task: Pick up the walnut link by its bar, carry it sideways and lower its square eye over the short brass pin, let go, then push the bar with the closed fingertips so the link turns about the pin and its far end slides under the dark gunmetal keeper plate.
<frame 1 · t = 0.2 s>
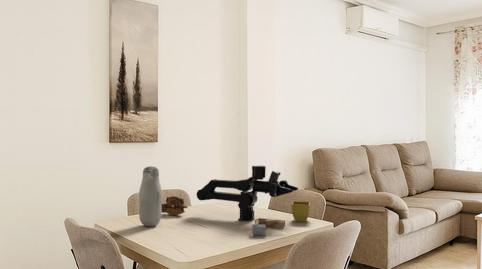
hand: (295, 189, 196), 17 cm above the table, tool horizontal, fingers open, 9 cm apart
link: (281, 227, 189), on the table
grey tall rounded cylinder: (150, 226, 192), on the table
wooden carving: (173, 215, 217), on the table
flower pot: (300, 221, 204), on the table
keeper: (258, 234, 175), on the table
pin: (256, 229, 186), on the table
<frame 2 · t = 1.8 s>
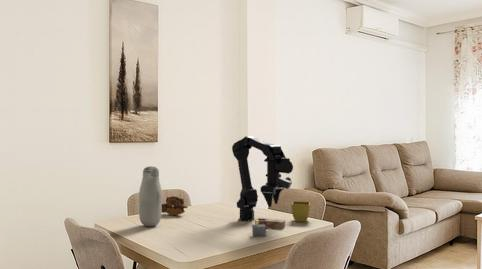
hand: (273, 205, 190), 10 cm above the table, tool pointing down, fingers open, 9 cm apart
nothing on the table moved.
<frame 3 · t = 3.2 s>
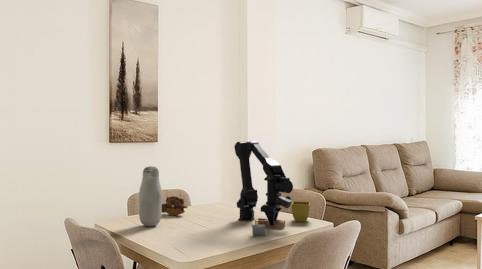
hand: (273, 224, 190), 1 cm above the table, tool pointing down, fingers closed on link, 4 cm apart
link: (281, 227, 189), on the table, touching gripper
everything else where it was.
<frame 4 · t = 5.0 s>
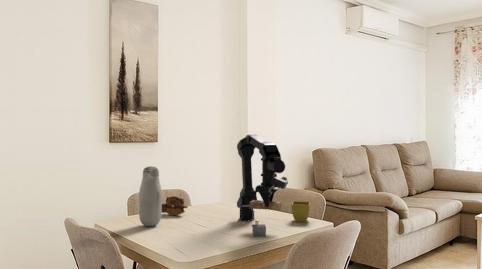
hand: (268, 206, 184), 11 cm above the table, tool pointing down, fingers closed on link, 4 cm apart
link: (277, 209, 182), point 10 cm above the table, touching gripper
everything else where it was.
when the fingers open (2 cm above the table, at t = 6.6 s): link drops 1 cm, on the table.
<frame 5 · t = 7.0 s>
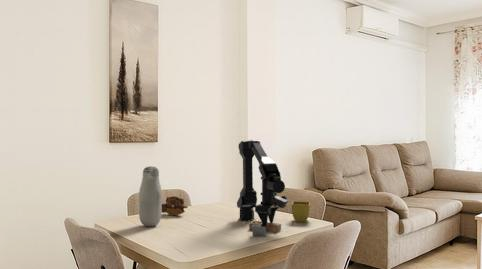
hand: (268, 224, 184), 2 cm above the table, tool pointing down, fingers open, 8 cm apart
link: (277, 231, 182), on the table
everything else where it was.
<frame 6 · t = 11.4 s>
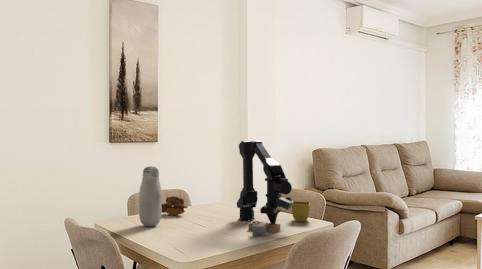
hand: (273, 226, 185), 2 cm above the table, tool pointing down, fingers closed
link: (276, 231, 181), on the table, touching gripper
everything else where it was.
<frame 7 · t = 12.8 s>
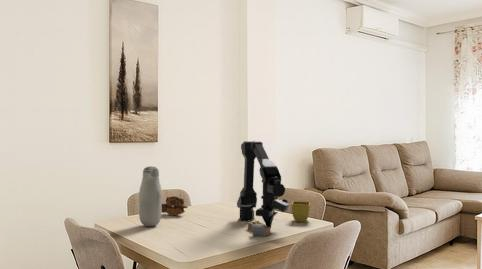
hand: (269, 228, 180), 1 cm above the table, tool pointing down, fingers closed
link: (265, 234, 176), on the table, touching gripper, pin
everything else where it was.
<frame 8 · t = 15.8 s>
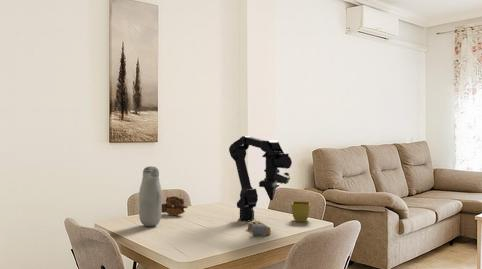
hand: (271, 200, 193), 12 cm above the table, tool pointing down, fingers closed
link: (265, 234, 176), on the table, touching pin
everything else where it was.
at the end: link 2.8 cm from the target spot, on the table; link 10.5 cm from the pin (horizontally); link tilted 0° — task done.
